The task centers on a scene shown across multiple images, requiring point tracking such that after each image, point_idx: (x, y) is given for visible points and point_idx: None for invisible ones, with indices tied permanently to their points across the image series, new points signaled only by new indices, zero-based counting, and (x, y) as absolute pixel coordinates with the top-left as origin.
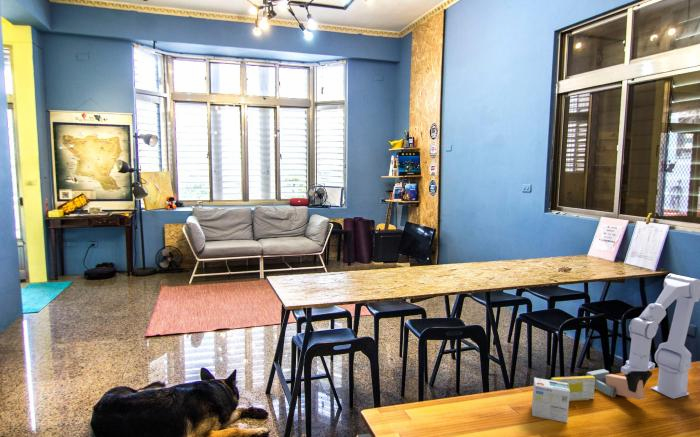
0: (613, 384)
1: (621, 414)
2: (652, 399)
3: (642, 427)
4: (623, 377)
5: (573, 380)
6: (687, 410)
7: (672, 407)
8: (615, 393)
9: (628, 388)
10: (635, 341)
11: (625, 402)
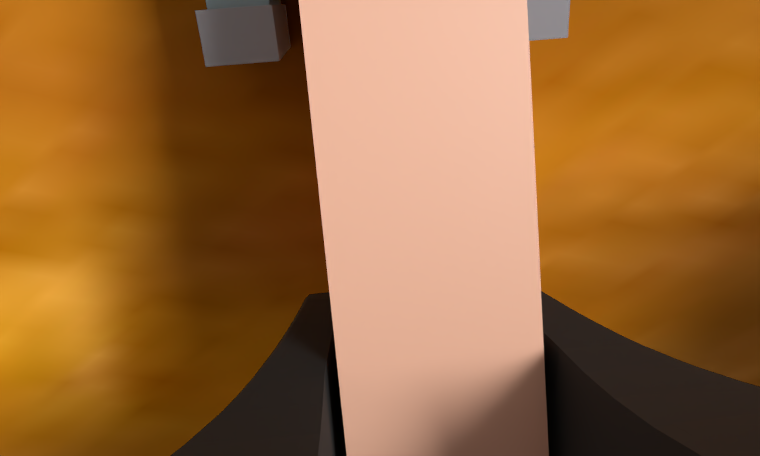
0: None
1: (44, 371)
2: (699, 205)
3: None
4: (439, 118)
5: None
6: None
7: (705, 362)
8: (285, 50)
9: (303, 307)
10: None
11: (312, 188)
